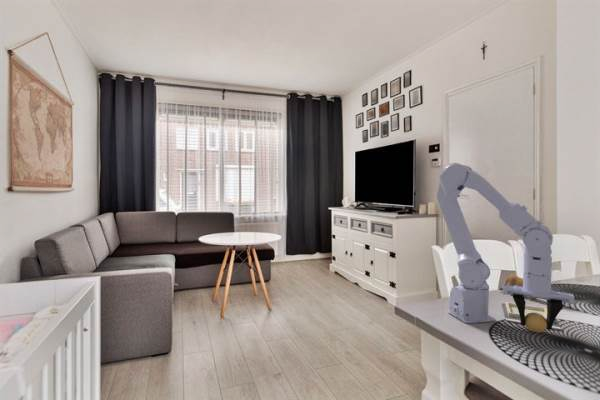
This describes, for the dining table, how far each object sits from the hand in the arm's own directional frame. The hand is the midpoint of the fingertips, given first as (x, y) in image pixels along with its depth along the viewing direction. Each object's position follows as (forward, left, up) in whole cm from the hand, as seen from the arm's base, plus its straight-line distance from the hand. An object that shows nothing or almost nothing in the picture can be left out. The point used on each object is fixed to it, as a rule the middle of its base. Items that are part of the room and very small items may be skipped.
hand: (535, 326), depth 81 cm
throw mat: (+7, +9, -1) cm, 12 cm away
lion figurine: (+21, +24, -2) cm, 32 cm away
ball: (0, 0, +1) cm, 1 cm away
